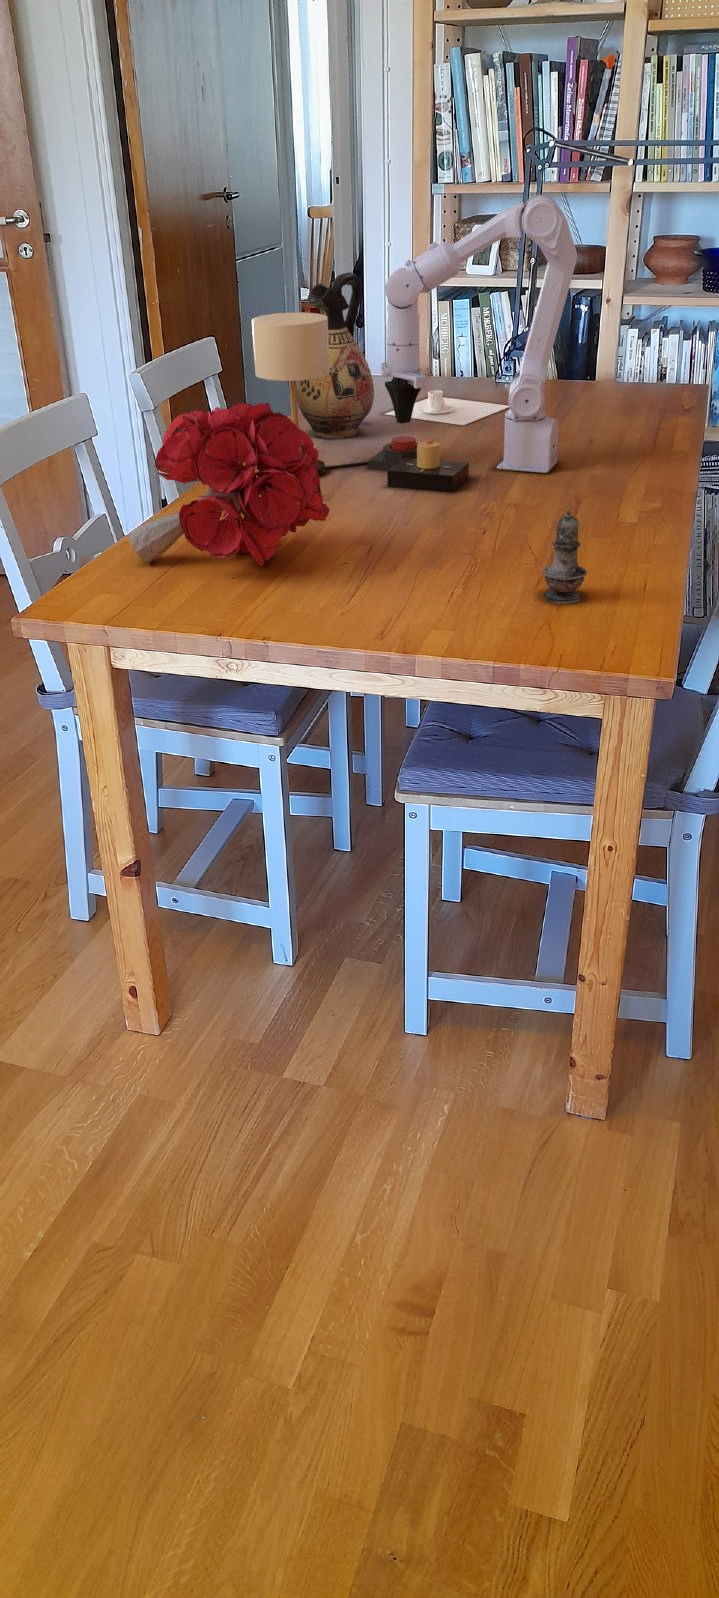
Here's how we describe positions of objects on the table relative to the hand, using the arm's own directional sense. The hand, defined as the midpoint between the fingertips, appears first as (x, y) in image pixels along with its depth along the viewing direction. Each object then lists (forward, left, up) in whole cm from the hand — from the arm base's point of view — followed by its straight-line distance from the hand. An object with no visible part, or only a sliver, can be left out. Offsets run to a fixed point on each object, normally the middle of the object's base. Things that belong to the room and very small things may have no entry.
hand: (403, 422), depth 216 cm
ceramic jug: (+21, -20, -8) cm, 30 cm away
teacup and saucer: (+6, -45, -8) cm, 46 cm away
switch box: (0, 0, -8) cm, 8 cm away
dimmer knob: (-8, +9, -5) cm, 13 cm away
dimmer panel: (-8, +9, -8) cm, 15 cm away
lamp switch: (0, 0, -5) cm, 5 cm away
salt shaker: (-43, +56, -8) cm, 71 cm away
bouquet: (+7, +56, -8) cm, 57 cm away
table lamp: (+14, +8, -8) cm, 18 cm away
